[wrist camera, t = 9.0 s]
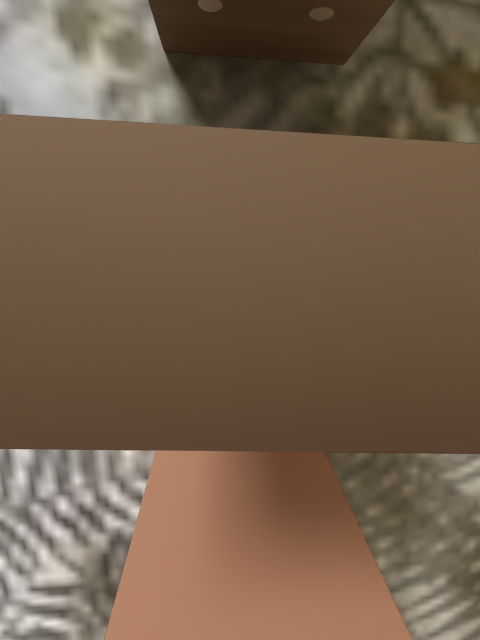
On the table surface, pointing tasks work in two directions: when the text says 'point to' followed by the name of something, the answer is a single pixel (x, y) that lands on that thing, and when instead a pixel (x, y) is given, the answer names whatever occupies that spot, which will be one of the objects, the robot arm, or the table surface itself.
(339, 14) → the domino
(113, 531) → the table surface
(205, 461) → the domino
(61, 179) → the domino
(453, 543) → the table surface
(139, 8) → the table surface
